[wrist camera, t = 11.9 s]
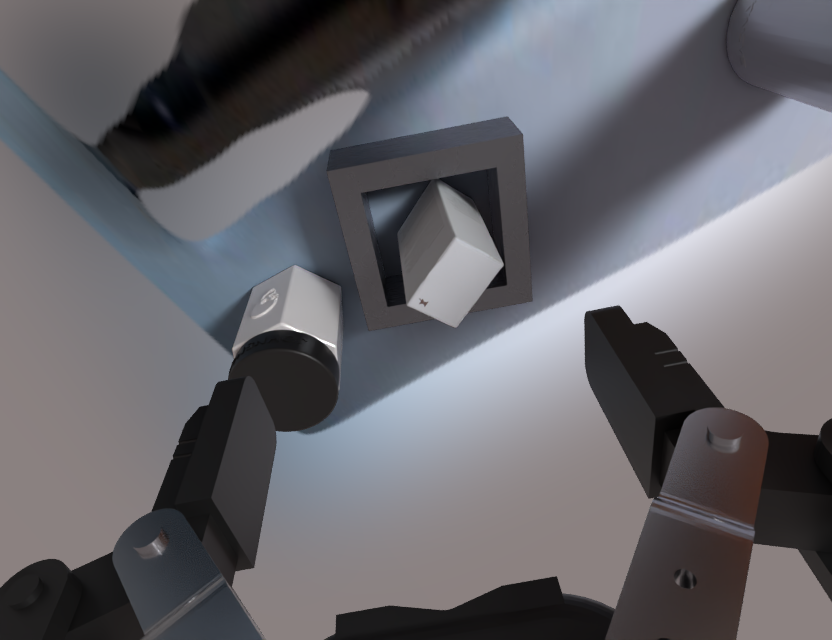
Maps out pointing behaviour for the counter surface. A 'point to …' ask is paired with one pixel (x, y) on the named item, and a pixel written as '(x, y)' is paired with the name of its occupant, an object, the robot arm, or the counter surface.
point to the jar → (292, 347)
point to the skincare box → (446, 254)
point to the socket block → (422, 161)
